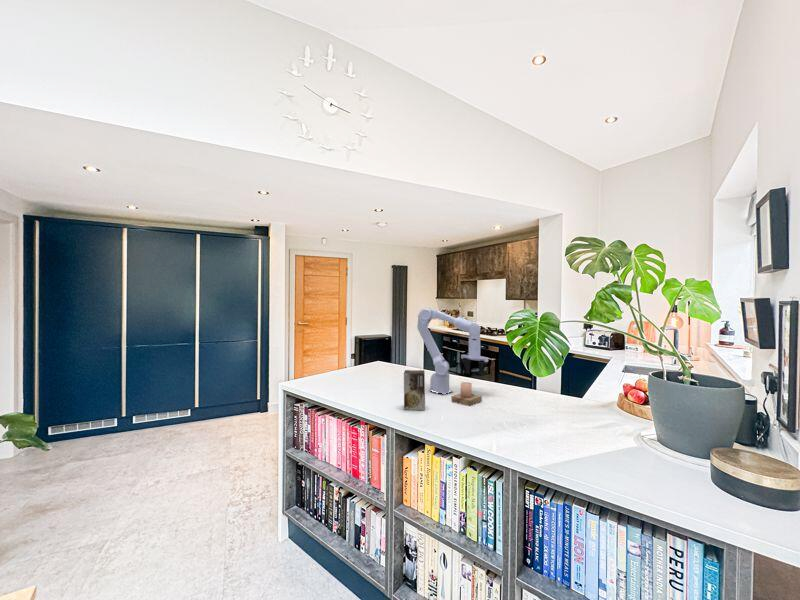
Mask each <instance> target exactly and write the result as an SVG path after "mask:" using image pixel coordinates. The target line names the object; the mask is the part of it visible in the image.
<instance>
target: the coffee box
mask: <svg viewBox="0 0 800 600" xmlns="http://www.w3.org/2000/svg"><path fill="white" fill-rule="evenodd" d="M425 372H426V371H425V370H424V369H423V370H422V369H406V370H404V373H403V395H404V396H403V410H404V411H426V383H425V382H426V379H425V378H426V377H425Z"/></svg>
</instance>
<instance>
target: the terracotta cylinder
mask: <svg viewBox="0 0 800 600" xmlns="http://www.w3.org/2000/svg"><path fill="white" fill-rule="evenodd" d="M472 386H473V385H472V382H469V381H468V382H467V381H465V382H464V381H462V382H460V393H461V397H463V398H471V397H472V394H473V393H472V392H473V391H472V389H473V387H472Z"/></svg>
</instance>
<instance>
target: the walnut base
mask: <svg viewBox="0 0 800 600" xmlns="http://www.w3.org/2000/svg"><path fill="white" fill-rule="evenodd" d="M451 401H453V402H452V403H455V402H457V403H456V404H459V403H461V404H460V405H463V404H464V405H463V406H467V405H468V406H467V407H472V406H474V405H476V403H477V404H479V403H481V402H480V401H482V402H483V397H482V395H478V394H473V393H472V397H471V398H463V397H461V392H460V393H457V394H454V395H451ZM478 402H479V403H478ZM473 404H474V405H473ZM471 405H472V406H471Z"/></svg>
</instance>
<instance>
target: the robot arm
mask: <svg viewBox="0 0 800 600" xmlns="http://www.w3.org/2000/svg"><path fill="white" fill-rule="evenodd" d="M436 319H438V320H442V321H444V322H447V323H451V324H453V326H454V328H456V329H458V330H460V331H462V332H465V333H468V354H461V355H460V358H461V363H462V365H463V366H464V369H465V370H464V371H465V374H466V375H467V374H468V375H470V372H471V362H472V361H478V362H477V364H478V372H479V373H478V374H479V375H478V376H479V377H483V376H484V372H485V369H486V366H487V365H488V362H489V357H486V356H481V334H480V333H481V325H479V324H478V323H476V322H474V321H472V320H471V321H470V320H468V319H466V318H465V317H463V316H458V317H454V316H451V315H450V314H448V313H445V312H442V311H440V310H438V309H434V308H433V309H432V308H431V307H426V308H425V307H424V308H422V309H420V311H419V313H418V315H417V324H416V325H417V326H416V327H417V330H418V333H419V334H420V336H421V339H422V341H423V343H424V345H425V346H426V349H427V351H428V353H429V355H430V357H431V360H432V361H433V363H432V364H433V365H434V371H435V373H433V374H432V375H431V376H430V381H429V382H430V385H429V386H430V388H429V389H430V390H433V391H436V392H438V393H442V394H445V393H448V392H449V390H450V373H449V370H450V364H449V362H448V361H447V360H446V359H445V358H444V356H443V355H442V353H441V351H440V350H439V348H438V346H437V343H436V341H435V340H434V337H433V336H432V334H431V331H430V330H429V328H428V327H429V324H430V322H431V321H432V320H436ZM430 390H429V391H430ZM438 393H437V394H438ZM442 394H441V395H442ZM448 394H449V393H448ZM445 395H446V394H445Z"/></svg>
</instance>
